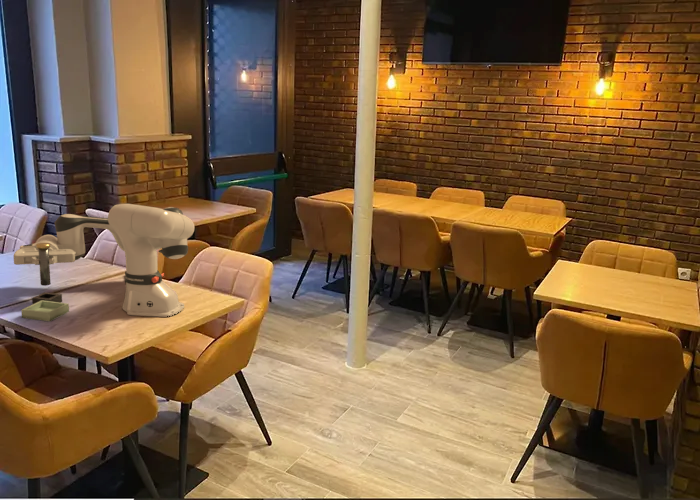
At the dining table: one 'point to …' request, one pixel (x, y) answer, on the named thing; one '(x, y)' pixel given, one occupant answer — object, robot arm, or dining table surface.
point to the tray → (45, 310)
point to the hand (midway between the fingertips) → (44, 262)
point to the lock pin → (44, 263)
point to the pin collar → (47, 297)
